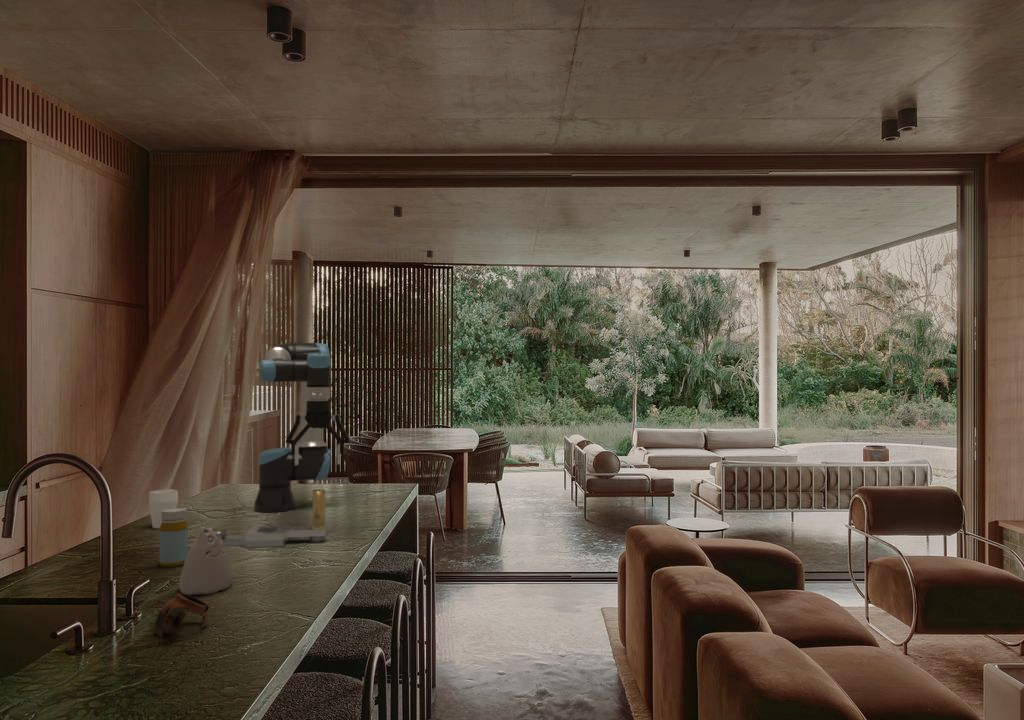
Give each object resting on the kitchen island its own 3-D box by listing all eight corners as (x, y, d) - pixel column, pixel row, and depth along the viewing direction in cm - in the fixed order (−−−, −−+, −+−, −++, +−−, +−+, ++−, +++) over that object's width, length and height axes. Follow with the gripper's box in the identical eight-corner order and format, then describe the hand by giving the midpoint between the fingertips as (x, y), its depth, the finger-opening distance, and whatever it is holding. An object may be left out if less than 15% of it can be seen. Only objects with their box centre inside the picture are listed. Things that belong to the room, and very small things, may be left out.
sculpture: (227, 594, 165) (227, 531, 165) (173, 598, 162) (174, 534, 162) (236, 578, 177) (236, 520, 177) (186, 581, 175) (187, 522, 175)
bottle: (193, 561, 192) (193, 508, 193) (173, 568, 186) (174, 513, 186) (173, 559, 195) (174, 506, 195) (153, 566, 188) (154, 511, 188)
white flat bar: (213, 540, 217) (213, 527, 217) (327, 536, 222) (327, 524, 222) (203, 549, 206) (203, 535, 206) (323, 545, 211) (323, 531, 211)
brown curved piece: (156, 626, 145) (178, 589, 148) (197, 645, 146) (218, 607, 149) (139, 632, 134) (163, 591, 137) (184, 652, 135) (207, 611, 137)
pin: (313, 531, 229) (313, 489, 229) (325, 531, 229) (325, 489, 229) (311, 534, 225) (311, 491, 225) (324, 534, 225) (324, 491, 225)
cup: (183, 523, 240) (183, 489, 240) (167, 529, 231) (168, 494, 231) (159, 523, 241) (159, 489, 241) (142, 529, 232) (143, 493, 232)
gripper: (276, 400, 222) (276, 466, 222) (355, 400, 225) (355, 465, 225) (281, 399, 229) (281, 463, 229) (357, 399, 233) (357, 462, 232)
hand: (317, 464), depth 227 cm, fingers open, 13 cm apart
